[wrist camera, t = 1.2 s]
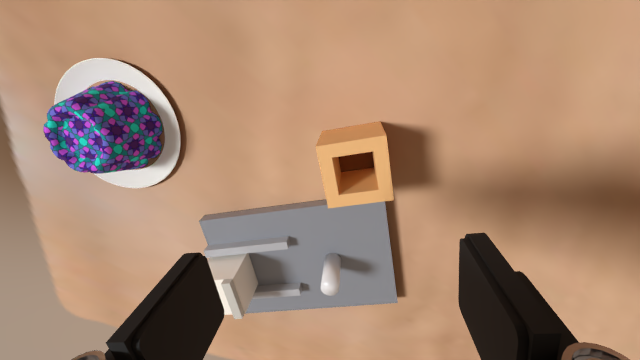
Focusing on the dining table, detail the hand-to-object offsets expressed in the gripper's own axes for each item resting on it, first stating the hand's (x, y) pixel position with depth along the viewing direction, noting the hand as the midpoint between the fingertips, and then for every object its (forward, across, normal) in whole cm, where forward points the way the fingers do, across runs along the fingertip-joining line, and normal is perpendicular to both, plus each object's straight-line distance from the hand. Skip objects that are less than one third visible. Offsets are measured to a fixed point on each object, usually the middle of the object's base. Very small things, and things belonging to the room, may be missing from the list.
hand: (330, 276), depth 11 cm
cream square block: (+15, +13, +11) cm, 23 cm away
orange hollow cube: (+17, -1, 0) cm, 17 cm away
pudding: (+17, +20, -5) cm, 27 cm away
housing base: (+17, +6, +11) cm, 21 cm away
